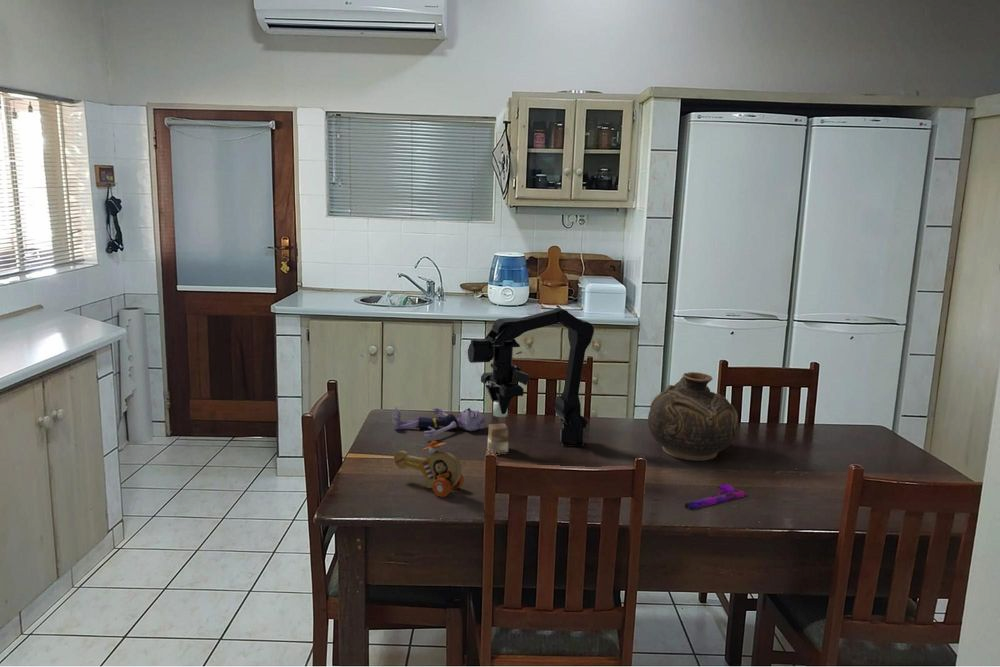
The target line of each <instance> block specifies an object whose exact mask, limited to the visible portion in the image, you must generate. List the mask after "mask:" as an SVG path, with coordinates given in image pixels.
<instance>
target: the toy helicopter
mask: <svg viewBox="0 0 1000 667" xmlns="http://www.w3.org/2000/svg"><path fill="white" fill-rule="evenodd" d="M445 445H447V442H441V443H438V441H436V440H433V441H431V442H430V443H429V446H426V447H425V448H422V451H424V450H428V453H429V454H430V455H428V456H427V457H426V458H425V457H421V456H420V457H419V456H414V455H411V454H410V453H409V452H408V451H406V450H400V451H397V452H396V453H395V454H394V455H393V462H394V464H395V466H396V467H397V468H398V469H401V470H405V469H406V468H410V469H413V470H416V471H419V472H421V473H422V475H423V477H424V478H425V486H426V488H428V489H429V490H430V489H432V491H433V493H434V494H435V495H436V496H438V497H439V498H445V497H447V496H448V495H449V494H450V493H451V491H452V489H454V490H456V489H459V488H460V487H462V486H463V484H464V476H463V474H462V464H461V462H460V461H459V459H458V458H457V457H456V456H455V455H454V454H452V453H450V452H447V451H439V450H442V449H443V446H445ZM433 452H434V453H433ZM431 453H432V454H431Z"/></svg>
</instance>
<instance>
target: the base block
mask: <svg viewBox="0 0 1000 667" xmlns="http://www.w3.org/2000/svg"><path fill="white" fill-rule="evenodd" d="M489 450H491V451H494V450H495V452H496V451H497V452H498V453H500V452H508V453H509V440H508V441H506V442H491V440H490V439H489V437H488V436H487V452H488V451H489Z"/></svg>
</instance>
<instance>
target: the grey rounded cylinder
mask: <svg viewBox="0 0 1000 667" xmlns="http://www.w3.org/2000/svg"><path fill="white" fill-rule="evenodd" d="M492 404H493V405H492V406H493V407H492V416H493V417H496V418H506V417H508V408H509V407H508V408H507V411H506V414H502V413H501V410H500V406H499V402H498V400H496V401H494V402H492Z"/></svg>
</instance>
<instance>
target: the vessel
mask: <svg viewBox="0 0 1000 667" xmlns="http://www.w3.org/2000/svg"><path fill="white" fill-rule="evenodd" d="M711 381H713V377H712V376H711V375H710V374H706V373H702V372H695V371H690V372H685V373H683V374H682V377H681V378H680V379H679V381H678V382H676V383H675V384H669V385H668V386H667V387H666V388H665V390H664V391H661V392H659V394H657V395H656V396H655V397H654V399H653V400H652V401H651V403H650V408H649V411H648V416H647V423H648V424H647V425H648V429H649V430H650V433H651V434H650V435H651V436H652V437H653V438H654V439H655V441H656V442H657V443H659V444H660V446H662V451H663V452H665V454H667V455H669V456H672V457H674V458H676V459H677V458H678V459H681V460H687V461H695V462H696V461H697V462H698V461H699V462H700V461H709V460H712V459H714V458H716V457H717V456H718V453H719V452H722V451H723V450H725V449H726V448H728V447H729V446H730V445H732V443H733V441H734V440H735V438H736V436H737V434H738V432H739V430H740V429H739V428H740V426H739V414H738V411H737V409H736V407H735V406H734V405H733V404H732V403H730V402H729V400H728V399H727V398H726V397H725V396H723V395H722V394H720V393H715V392H713V391H711V389H710V387H709V386H708V384H709V383H710V382H711Z"/></svg>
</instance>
